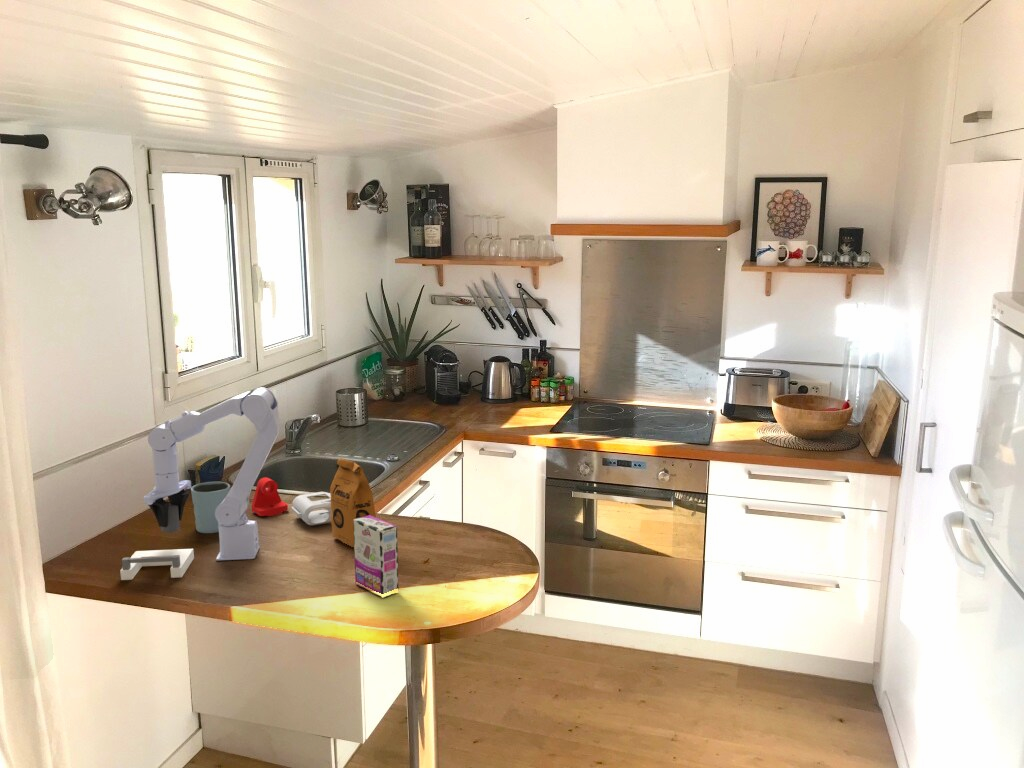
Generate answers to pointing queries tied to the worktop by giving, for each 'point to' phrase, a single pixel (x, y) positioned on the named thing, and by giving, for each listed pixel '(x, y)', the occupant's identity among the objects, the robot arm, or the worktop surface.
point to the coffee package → (349, 500)
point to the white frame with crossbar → (157, 561)
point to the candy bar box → (376, 554)
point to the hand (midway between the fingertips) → (170, 523)
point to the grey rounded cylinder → (172, 519)
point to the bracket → (267, 499)
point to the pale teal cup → (208, 504)
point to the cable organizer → (312, 508)
